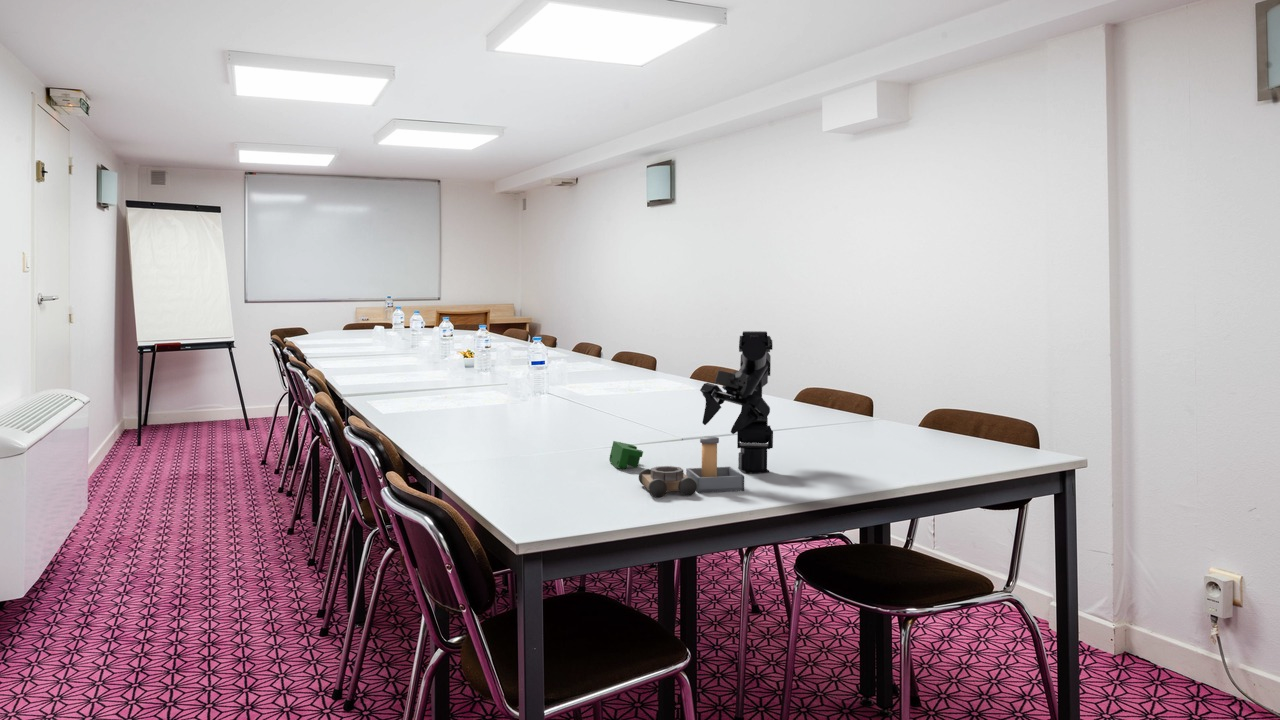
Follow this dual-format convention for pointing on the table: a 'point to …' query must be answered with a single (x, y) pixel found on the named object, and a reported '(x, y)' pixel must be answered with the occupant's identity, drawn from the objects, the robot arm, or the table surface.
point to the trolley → (667, 481)
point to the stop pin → (709, 456)
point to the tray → (717, 480)
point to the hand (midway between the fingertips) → (717, 428)
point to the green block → (624, 455)
